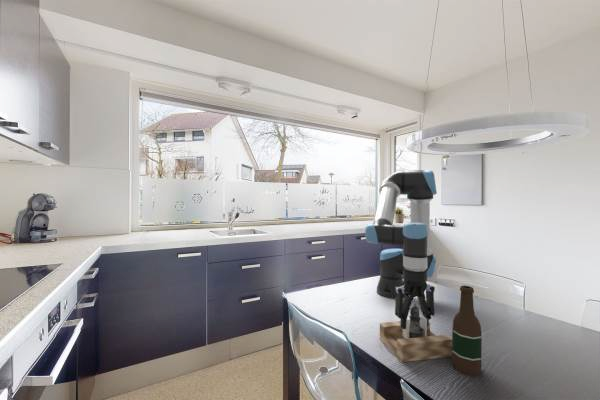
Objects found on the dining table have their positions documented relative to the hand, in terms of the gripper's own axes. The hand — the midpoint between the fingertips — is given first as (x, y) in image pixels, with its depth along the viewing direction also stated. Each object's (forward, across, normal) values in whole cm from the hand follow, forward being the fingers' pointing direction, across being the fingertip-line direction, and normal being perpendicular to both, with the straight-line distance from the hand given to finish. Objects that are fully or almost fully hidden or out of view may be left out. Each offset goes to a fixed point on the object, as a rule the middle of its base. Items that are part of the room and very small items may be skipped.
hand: (414, 336), depth 90 cm
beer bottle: (+4, -8, +13) cm, 16 cm away
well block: (+3, 0, 0) cm, 3 cm away
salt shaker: (+1, 0, 0) cm, 1 cm away
